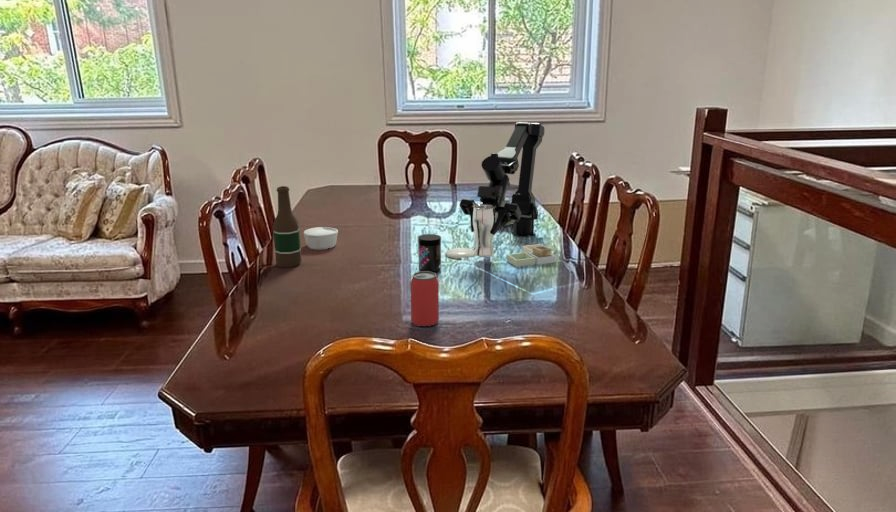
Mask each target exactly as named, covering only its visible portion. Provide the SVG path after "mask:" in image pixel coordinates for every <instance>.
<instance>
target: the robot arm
mask: <svg viewBox="0 0 896 512" xmlns="http://www.w3.org/2000/svg"><path fill="white" fill-rule="evenodd" d="M544 136H545V127H544V126H543V125H542V123H541V122H529V121H518V122H516V123H515V125H514V130H513V132H512V133H511V136H510V138H509V139H508V141H507V143H506V145H505V147H504V149H502V150H499V151H498V152H497V153H494V152H491V154H490V156H487V157H486V158H484V159H483V160H482V161H481V168H482V170H483V172H484V175H485V177H486V179H487V180H488V181H489V184H488V186H484V185H479V186H478V190H477V195H476V197H478V198H479V201H480V203H481V204H490V205H494V206H495V212H496V213H498V217H497V220H496V222H495V225H494V227H493V231H492V234H493V235H494V236H495V234H497V233H498V231H500V230H501V229H502V228H503V227H505V226H504V225H505V224H506V223H508V222H511V221H512V220H514V222H513V223H512V225H513V226H512V231H511V233H512V234H513V235H515V236H516V237H519V238H526V237H533V236H536V233H535V232H534V228H535V220H538V217H539V210H538V207H537V205H536V198H535V196H534V193H533V192H532V189H533V188H532V187H533V182H534V181H533V180H534V179H533V178H534V172H535V171H534V170H535V163H536V154H537V149H538V148H539V146H540V145H541V144H542V141H543V137H544ZM520 153H521V159H520V161H521V162H520V165H519V159H518V157H519V155H520ZM519 166H520V167H519ZM519 168H520V170H519V178H518V184H517V185H518V188H517V190H516V191H515V193H513V194H512V196H511V200H510V203H505V205H504V207H501V205H502V202H503V201H505V198H506V197H505V195H506V192H507V190H508V187H510V186H511V183H510V182H511V181H510V177H509V175H514V174H515V173H516V172H517V171H518V169H519ZM480 203H479V204H480ZM479 204H478V203H476V201H475V200H474V199H473V198H472V199H471V198H462V199H461V200H460V202H459V207H460V209H461V211H462V212H463V214H464V215H466V216H467V215H468V216H470V217H469V218H470V231H471V233H474V230H473V208H474V206H475V205H479Z"/></svg>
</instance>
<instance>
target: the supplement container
mask: <svg viewBox="0 0 896 512" xmlns="http://www.w3.org/2000/svg"><path fill="white" fill-rule="evenodd" d="M417 243H418V244H417V245H418V250H417V251H418V270H419V271H418V272H420V271H429V272H433V273H435V274H438V273H440V272H441V270H442V236H441V235H439V234H434V233H425V234H421V235H418V237H417Z"/></svg>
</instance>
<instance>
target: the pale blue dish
mask: <svg viewBox="0 0 896 512" xmlns="http://www.w3.org/2000/svg"><path fill="white" fill-rule="evenodd" d="M528 254H529V255H531V256H532V257H534V258H535V265H540V266H541V265H545V264H553V263H556V262H557V256H556V255H555V254H553V253H551V256H547V257H540V258H538V257H537V256H535V255H533V252H528Z"/></svg>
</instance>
